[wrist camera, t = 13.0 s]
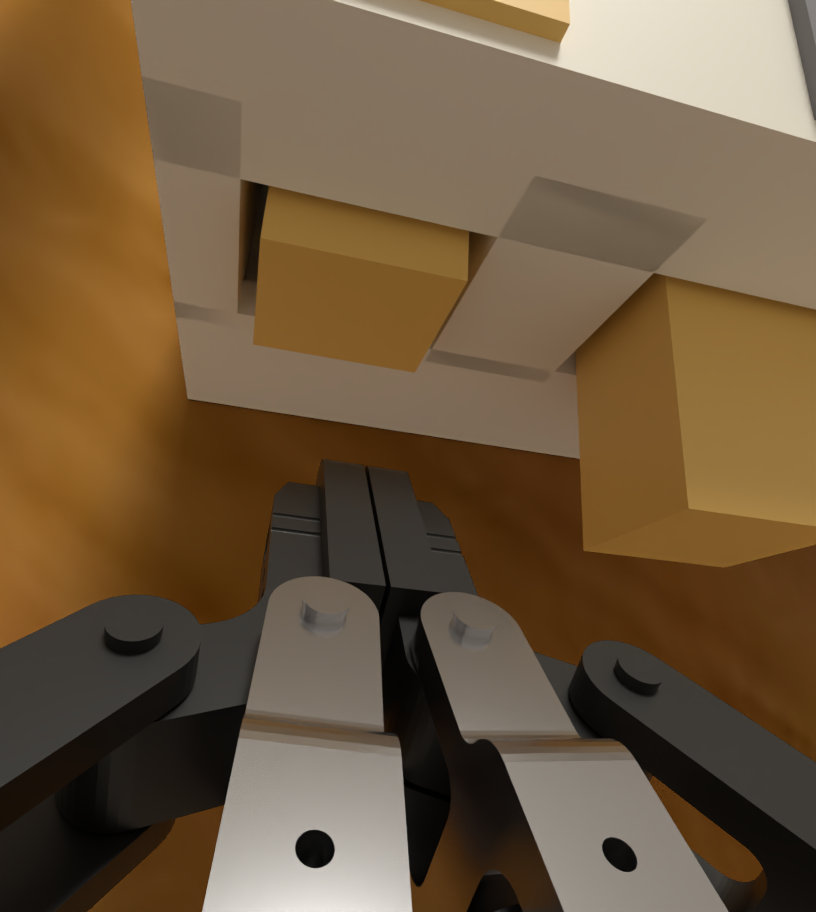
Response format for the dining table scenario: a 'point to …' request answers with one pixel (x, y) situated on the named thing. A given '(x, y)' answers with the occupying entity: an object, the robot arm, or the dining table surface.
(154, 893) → the dining table surface
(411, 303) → the button
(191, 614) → the robot arm
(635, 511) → the button
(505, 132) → the block
